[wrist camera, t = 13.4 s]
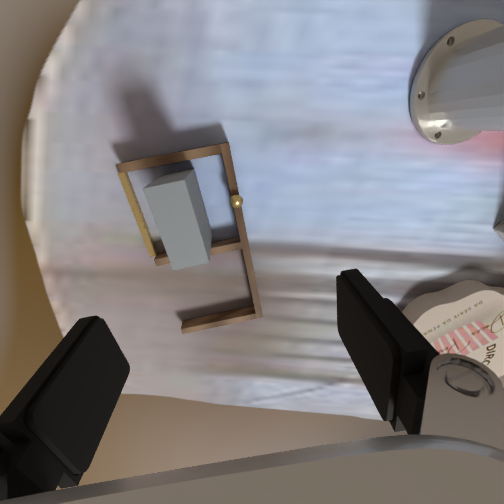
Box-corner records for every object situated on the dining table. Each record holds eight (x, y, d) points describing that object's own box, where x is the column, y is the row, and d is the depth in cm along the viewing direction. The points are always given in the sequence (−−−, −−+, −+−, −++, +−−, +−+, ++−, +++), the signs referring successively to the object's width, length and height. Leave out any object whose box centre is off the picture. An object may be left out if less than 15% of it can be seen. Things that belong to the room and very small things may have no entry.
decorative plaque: (519, 257, 39) (543, 360, 51) (496, 248, 42) (524, 347, 54) (350, 355, 44) (408, 428, 56) (341, 339, 48) (398, 412, 60)
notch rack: (230, 141, 31) (231, 142, 29) (262, 308, 42) (265, 319, 40) (116, 163, 31) (107, 166, 28) (179, 326, 42) (177, 337, 40)
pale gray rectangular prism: (194, 168, 32) (184, 179, 24) (212, 233, 36) (209, 262, 28) (161, 175, 32) (141, 188, 24) (183, 239, 36) (172, 270, 28)
